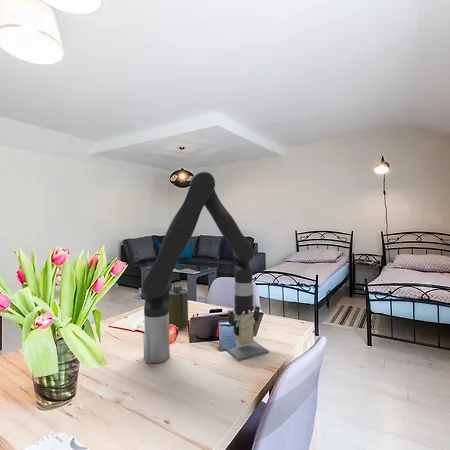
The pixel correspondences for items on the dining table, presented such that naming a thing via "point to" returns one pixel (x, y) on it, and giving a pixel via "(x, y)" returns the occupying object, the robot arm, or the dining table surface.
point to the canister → (178, 307)
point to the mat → (247, 351)
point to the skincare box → (245, 329)
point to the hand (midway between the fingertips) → (244, 333)
